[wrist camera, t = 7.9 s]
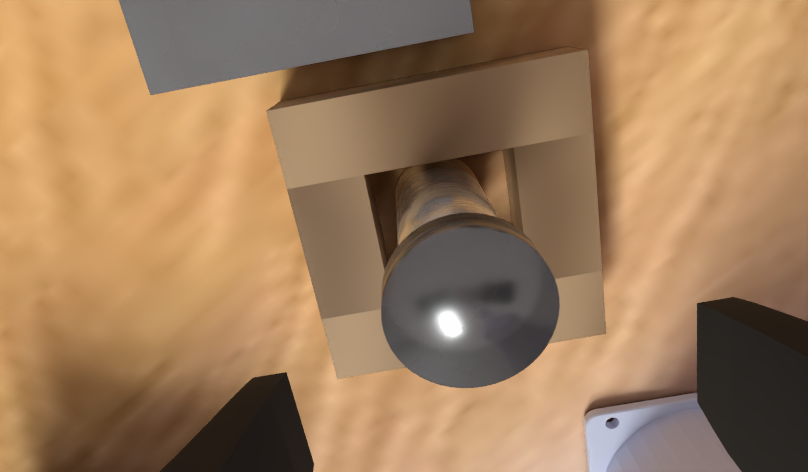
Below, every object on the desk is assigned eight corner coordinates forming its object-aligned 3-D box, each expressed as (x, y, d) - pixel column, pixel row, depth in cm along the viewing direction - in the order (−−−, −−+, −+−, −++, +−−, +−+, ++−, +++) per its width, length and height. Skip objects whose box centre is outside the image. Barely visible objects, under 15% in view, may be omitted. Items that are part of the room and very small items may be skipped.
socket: (566, 46, 17) (587, 49, 15) (586, 305, 20) (606, 333, 19) (279, 101, 18) (265, 111, 16) (342, 347, 21) (337, 379, 19)
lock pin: (482, 131, 18) (549, 212, 11) (498, 234, 19) (568, 370, 12) (372, 154, 18) (362, 250, 11) (395, 255, 20) (401, 402, 12)
